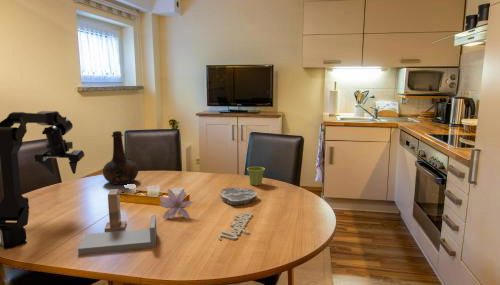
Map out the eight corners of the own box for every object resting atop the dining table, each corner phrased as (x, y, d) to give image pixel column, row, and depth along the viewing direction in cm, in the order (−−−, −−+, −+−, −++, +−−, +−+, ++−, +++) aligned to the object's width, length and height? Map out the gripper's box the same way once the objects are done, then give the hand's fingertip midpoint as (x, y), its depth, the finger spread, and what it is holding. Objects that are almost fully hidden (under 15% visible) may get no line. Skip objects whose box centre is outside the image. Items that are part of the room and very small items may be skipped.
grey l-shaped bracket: (78, 254, 114) (76, 234, 113) (86, 239, 124) (84, 220, 123) (155, 247, 119) (154, 227, 118) (156, 233, 130) (155, 215, 128)
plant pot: (244, 182, 193) (244, 167, 191) (261, 181, 196) (261, 165, 194) (250, 187, 184) (250, 171, 183) (267, 186, 187) (267, 170, 185)
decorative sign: (243, 241, 122) (215, 238, 124) (243, 244, 122) (215, 240, 124) (259, 213, 147) (236, 211, 149) (259, 215, 147) (236, 213, 150)
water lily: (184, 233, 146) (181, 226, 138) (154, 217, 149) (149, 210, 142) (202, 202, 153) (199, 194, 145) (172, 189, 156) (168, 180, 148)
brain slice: (263, 203, 161) (263, 197, 161) (228, 208, 155) (228, 202, 155) (248, 191, 179) (248, 185, 179) (215, 195, 173) (215, 189, 172)
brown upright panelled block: (124, 230, 132) (122, 193, 130) (104, 231, 131) (101, 194, 128) (126, 223, 138) (124, 188, 136) (107, 225, 137) (104, 189, 134)
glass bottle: (145, 180, 196) (142, 130, 191) (118, 189, 181) (114, 135, 176) (124, 176, 205) (121, 128, 200) (96, 183, 190) (92, 132, 185)
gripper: (86, 132, 153) (93, 164, 159) (43, 132, 153) (52, 164, 160) (74, 143, 143) (82, 177, 149) (28, 143, 143) (38, 176, 150)
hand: (63, 173), depth 152 cm, fingers open, 9 cm apart
